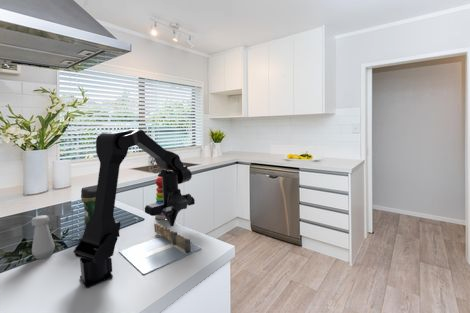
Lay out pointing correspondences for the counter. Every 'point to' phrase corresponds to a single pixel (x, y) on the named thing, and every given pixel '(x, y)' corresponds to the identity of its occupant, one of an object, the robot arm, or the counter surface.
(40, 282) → the counter surface
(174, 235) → the fixed fence section
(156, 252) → the card
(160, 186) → the stacking toy
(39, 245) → the salt shaker
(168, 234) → the folding fence panel
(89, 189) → the coffee jar
